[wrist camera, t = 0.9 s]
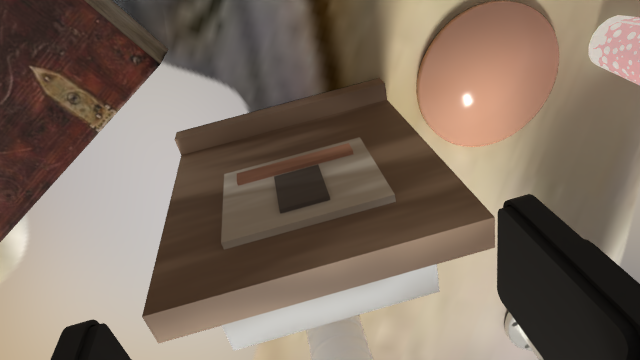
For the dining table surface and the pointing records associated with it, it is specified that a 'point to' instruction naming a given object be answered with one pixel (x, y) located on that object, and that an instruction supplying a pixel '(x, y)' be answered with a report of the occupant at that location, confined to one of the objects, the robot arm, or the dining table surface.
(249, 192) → the mount stand
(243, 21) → the dining table surface
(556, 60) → the peach round disc
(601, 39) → the beverage cup
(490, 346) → the dining table surface
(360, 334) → the water bottle
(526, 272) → the robot arm
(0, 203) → the hardback book
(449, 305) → the dining table surface
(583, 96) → the dining table surface
